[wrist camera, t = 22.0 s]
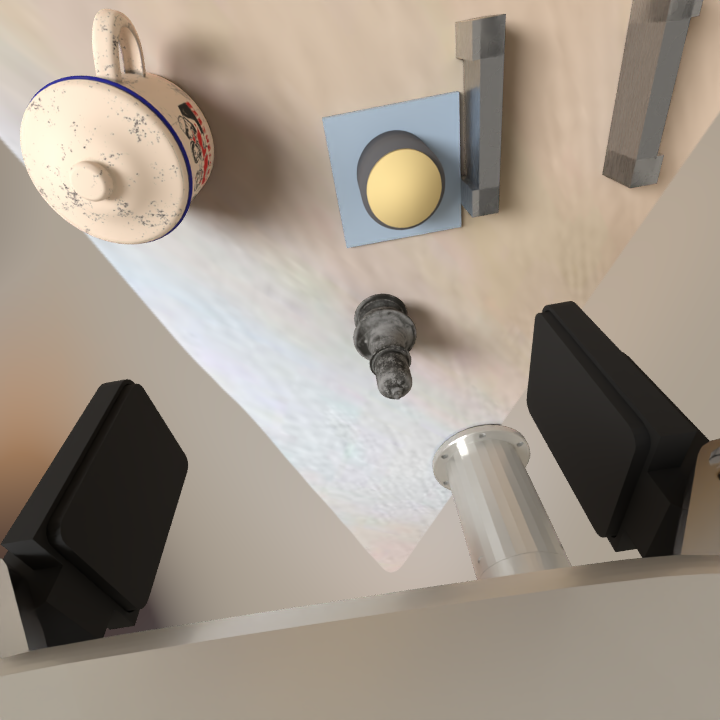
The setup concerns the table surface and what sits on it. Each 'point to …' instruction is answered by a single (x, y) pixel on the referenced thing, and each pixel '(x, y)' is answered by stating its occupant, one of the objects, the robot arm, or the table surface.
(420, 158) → the grey and yellow cylinder
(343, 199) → the mat
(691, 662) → the robot arm
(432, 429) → the table surface
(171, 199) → the teacup with lid
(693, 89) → the table surface
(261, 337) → the table surface
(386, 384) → the dark grey turned post
